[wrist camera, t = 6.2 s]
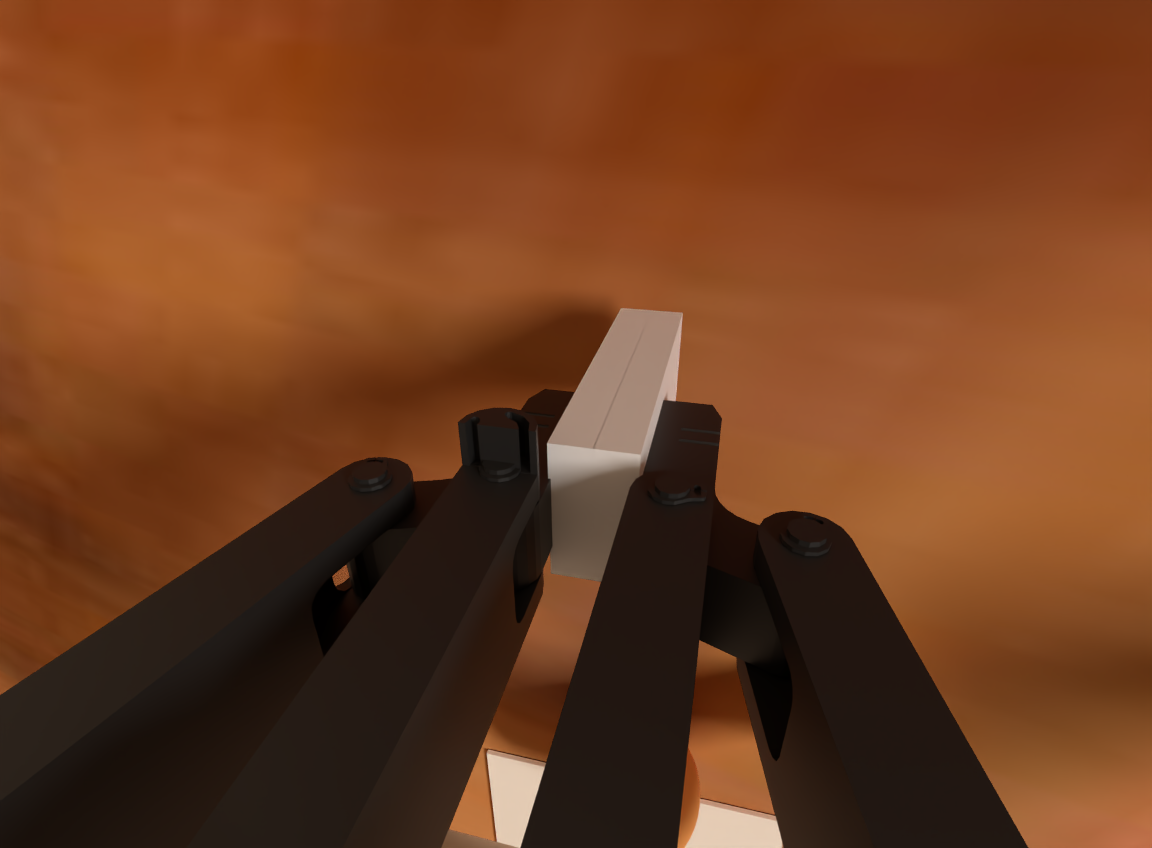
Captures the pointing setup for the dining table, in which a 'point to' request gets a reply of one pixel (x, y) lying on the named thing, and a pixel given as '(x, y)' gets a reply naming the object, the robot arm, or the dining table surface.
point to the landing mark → (718, 844)
